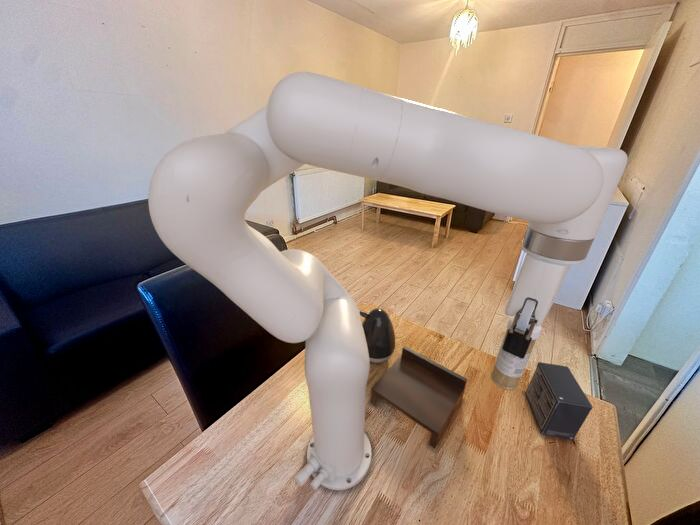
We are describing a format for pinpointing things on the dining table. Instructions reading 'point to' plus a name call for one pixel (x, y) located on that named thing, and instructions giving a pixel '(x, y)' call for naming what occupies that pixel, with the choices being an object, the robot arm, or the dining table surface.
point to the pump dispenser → (378, 335)
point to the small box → (557, 401)
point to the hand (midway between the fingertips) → (517, 343)
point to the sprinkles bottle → (512, 362)
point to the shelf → (421, 391)
